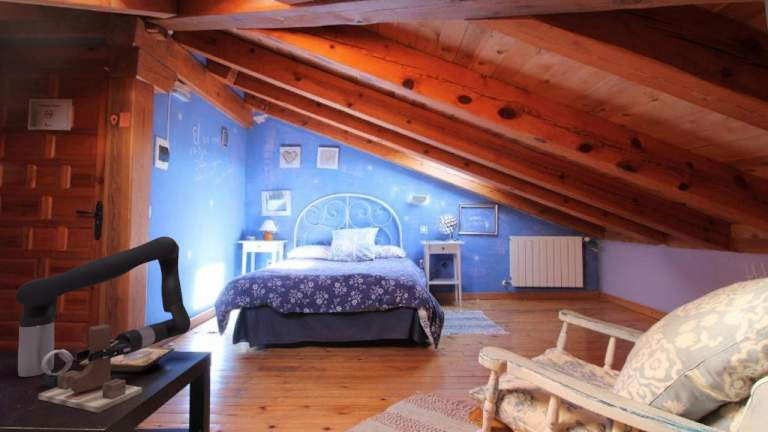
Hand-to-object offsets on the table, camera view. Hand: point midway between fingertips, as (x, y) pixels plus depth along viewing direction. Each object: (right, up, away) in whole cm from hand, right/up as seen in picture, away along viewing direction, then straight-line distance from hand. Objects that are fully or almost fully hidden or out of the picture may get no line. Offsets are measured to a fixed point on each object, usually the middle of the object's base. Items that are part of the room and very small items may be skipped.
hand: (82, 357), depth 111 cm
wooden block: (+1, -10, +2) cm, 11 cm away
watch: (-17, -13, +11) cm, 24 cm away
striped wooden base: (+1, -13, +2) cm, 13 cm away
